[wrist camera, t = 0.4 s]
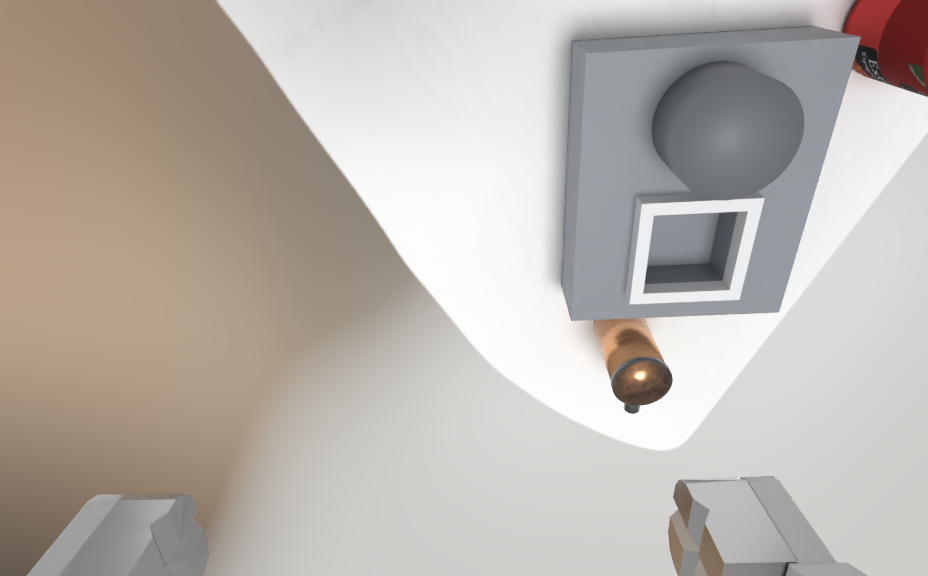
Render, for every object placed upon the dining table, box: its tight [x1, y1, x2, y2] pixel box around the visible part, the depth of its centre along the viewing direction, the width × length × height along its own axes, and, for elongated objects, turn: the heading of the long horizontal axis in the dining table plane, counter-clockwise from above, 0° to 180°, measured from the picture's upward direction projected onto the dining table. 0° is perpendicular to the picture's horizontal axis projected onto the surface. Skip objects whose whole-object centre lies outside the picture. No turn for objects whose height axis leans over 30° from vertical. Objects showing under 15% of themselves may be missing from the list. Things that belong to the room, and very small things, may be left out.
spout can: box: [594, 318, 672, 414], centre depth 52 cm, size 7×5×9 cm
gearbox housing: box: [562, 26, 861, 321], centre depth 42 cm, size 22×18×11 cm
